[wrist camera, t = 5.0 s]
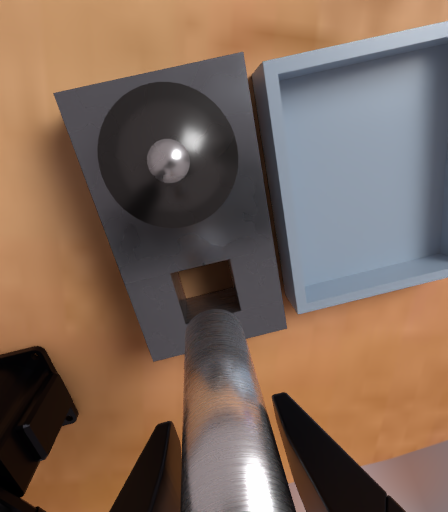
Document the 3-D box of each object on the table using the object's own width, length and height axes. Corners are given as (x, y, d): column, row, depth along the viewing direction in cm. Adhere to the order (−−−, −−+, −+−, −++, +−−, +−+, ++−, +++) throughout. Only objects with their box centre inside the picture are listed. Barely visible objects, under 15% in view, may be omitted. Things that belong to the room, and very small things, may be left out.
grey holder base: (158, 331, 20) (148, 393, 15) (79, 103, 15) (22, 80, 10) (273, 303, 20) (301, 355, 15) (233, 70, 15) (255, 29, 10)
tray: (285, 295, 20) (298, 314, 18) (251, 75, 15) (262, 61, 13) (442, 256, 20) (475, 270, 18) (456, 29, 16) (503, 8, 13)
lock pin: (183, 377, 13) (169, 816, 4) (159, 307, 12) (77, 736, 3) (263, 358, 13) (399, 749, 4) (248, 286, 12) (401, 646, 3)
